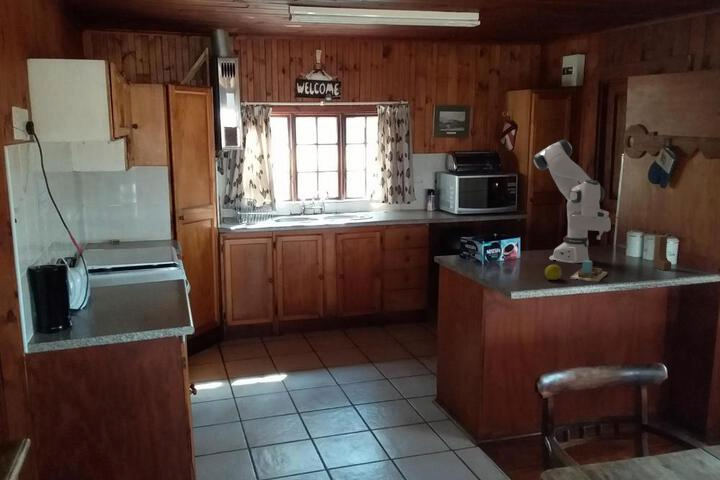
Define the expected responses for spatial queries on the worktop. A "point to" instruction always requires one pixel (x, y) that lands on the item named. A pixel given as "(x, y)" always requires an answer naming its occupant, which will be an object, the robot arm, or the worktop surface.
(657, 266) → the wooden block
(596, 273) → the keyhole guide
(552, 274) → the lemon
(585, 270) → the teal peg
